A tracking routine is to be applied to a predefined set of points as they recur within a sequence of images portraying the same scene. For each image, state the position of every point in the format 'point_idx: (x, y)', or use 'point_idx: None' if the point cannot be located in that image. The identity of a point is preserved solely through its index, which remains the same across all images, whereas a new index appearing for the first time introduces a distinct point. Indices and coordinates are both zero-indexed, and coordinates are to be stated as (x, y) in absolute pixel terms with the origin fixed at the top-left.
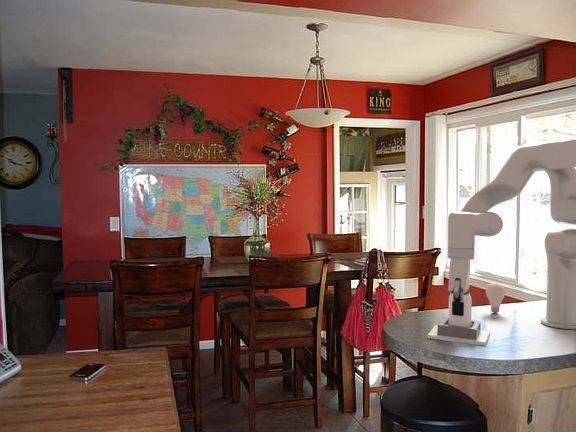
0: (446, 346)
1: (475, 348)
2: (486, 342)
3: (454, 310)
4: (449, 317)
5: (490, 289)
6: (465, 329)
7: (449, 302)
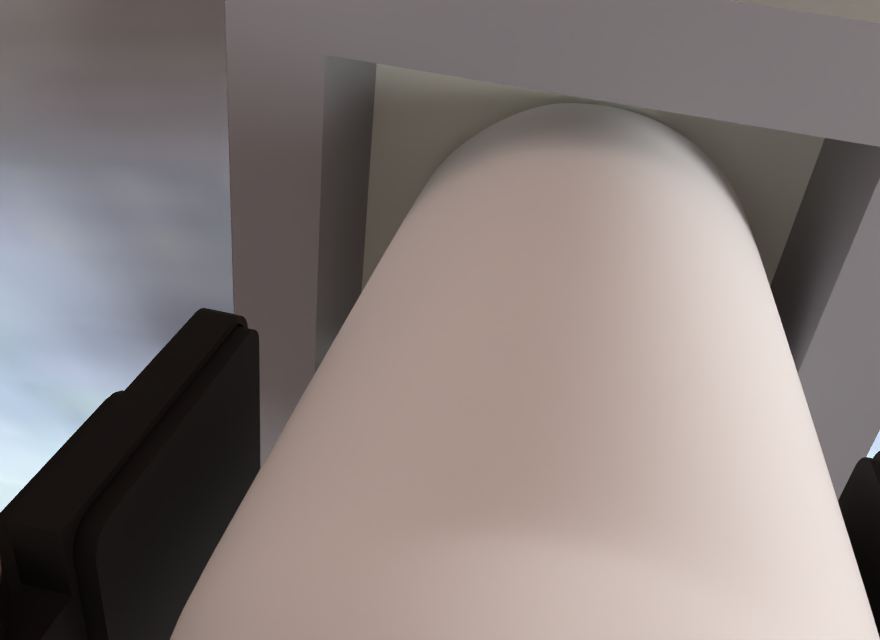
0: (6, 55)
1: (123, 361)
2: None
3: (101, 408)
4: (461, 210)
5: None
6: None
7: (385, 412)
